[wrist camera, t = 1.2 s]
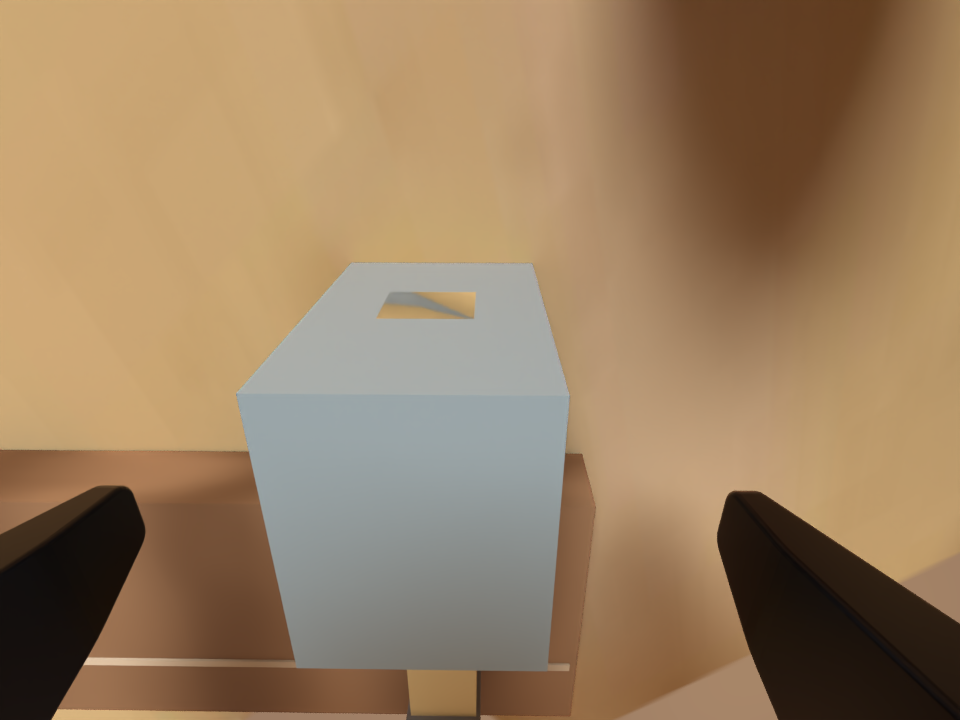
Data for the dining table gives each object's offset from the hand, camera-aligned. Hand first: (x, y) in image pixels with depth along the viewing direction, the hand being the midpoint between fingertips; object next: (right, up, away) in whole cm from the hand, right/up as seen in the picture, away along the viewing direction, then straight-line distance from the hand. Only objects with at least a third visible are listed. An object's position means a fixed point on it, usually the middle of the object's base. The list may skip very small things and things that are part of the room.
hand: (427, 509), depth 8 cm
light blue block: (0, -1, +6) cm, 6 cm away
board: (-6, -4, +8) cm, 10 cm away
